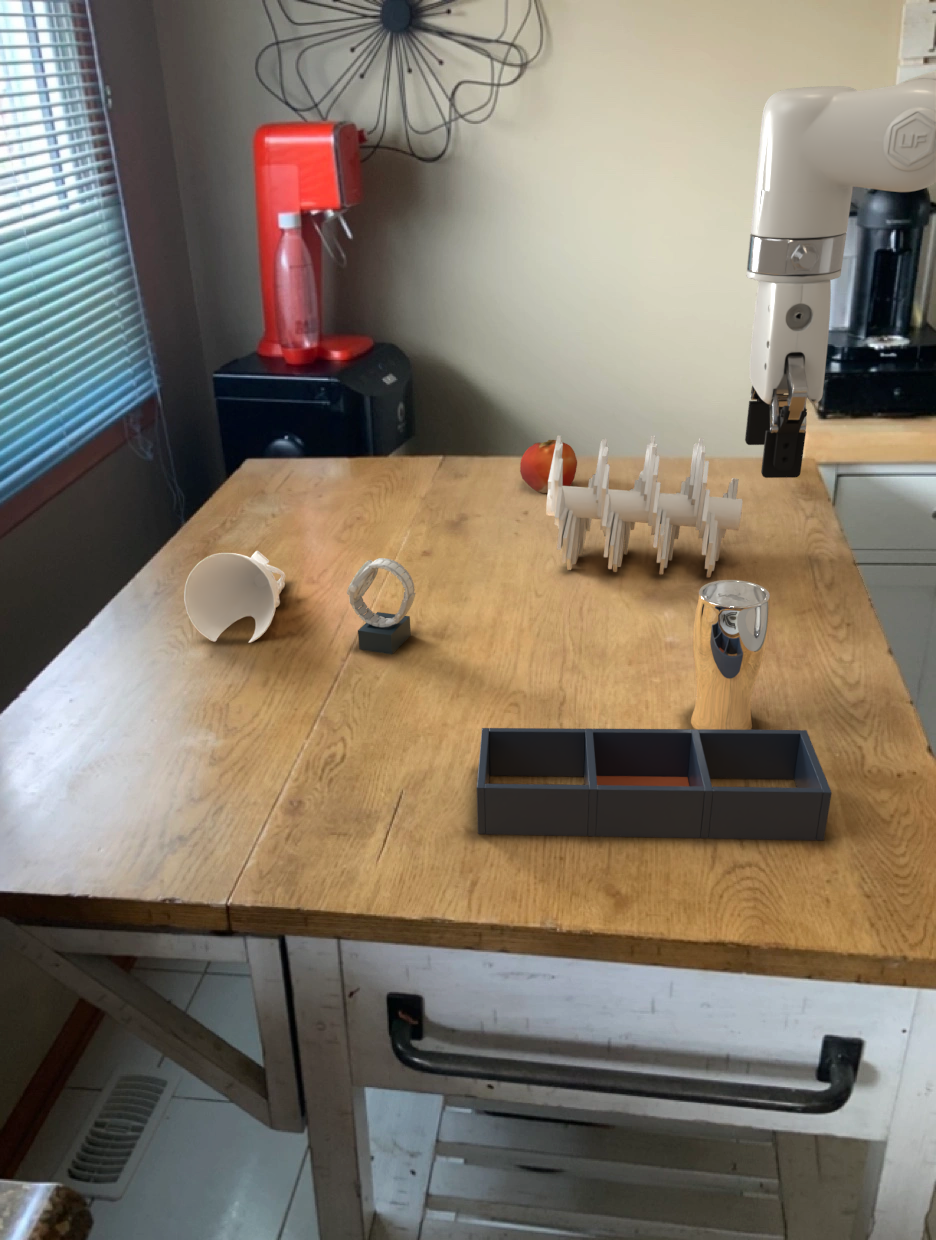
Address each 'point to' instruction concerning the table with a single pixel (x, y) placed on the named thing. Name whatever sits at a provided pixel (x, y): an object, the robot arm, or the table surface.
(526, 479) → the tomato
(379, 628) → the watch
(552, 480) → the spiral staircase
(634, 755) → the compartment tray
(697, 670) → the beer glass
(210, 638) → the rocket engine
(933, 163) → the robot arm
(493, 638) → the table surface
